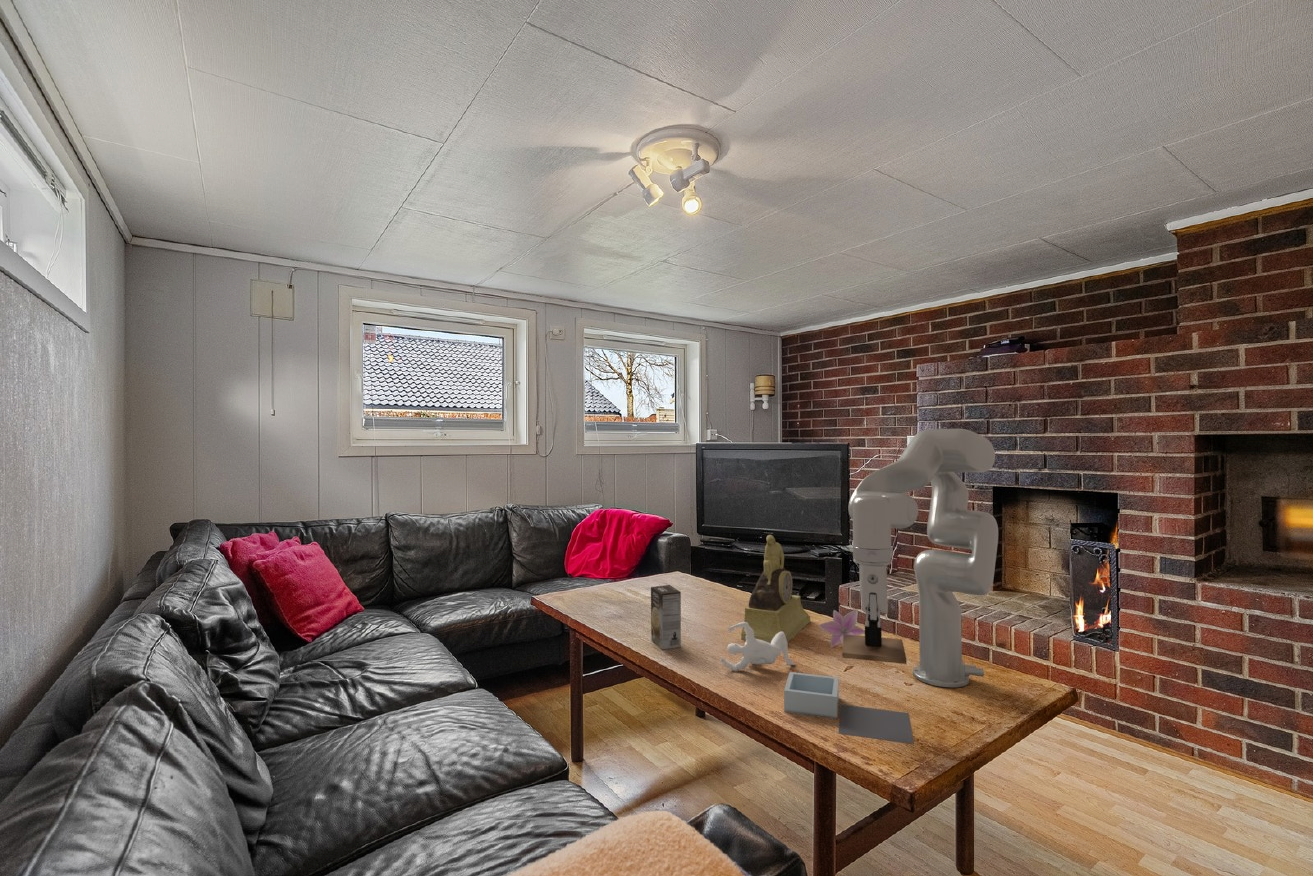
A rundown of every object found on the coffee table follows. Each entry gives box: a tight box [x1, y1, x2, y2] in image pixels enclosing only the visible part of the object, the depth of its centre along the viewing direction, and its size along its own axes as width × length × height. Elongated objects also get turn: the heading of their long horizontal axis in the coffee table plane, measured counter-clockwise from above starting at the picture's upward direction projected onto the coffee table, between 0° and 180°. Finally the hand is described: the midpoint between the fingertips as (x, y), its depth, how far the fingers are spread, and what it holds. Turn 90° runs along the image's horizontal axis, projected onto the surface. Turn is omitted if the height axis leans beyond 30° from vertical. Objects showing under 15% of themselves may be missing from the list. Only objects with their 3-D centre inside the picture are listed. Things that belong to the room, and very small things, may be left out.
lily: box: [818, 609, 865, 648], centre depth 174 cm, size 12×12×10 cm
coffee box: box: [650, 584, 682, 650], centre depth 177 cm, size 9×6×16 cm
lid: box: [841, 620, 907, 665], centre depth 125 cm, size 12×12×6 cm
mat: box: [838, 704, 915, 745], centre depth 125 cm, size 14×14×1 cm
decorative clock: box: [740, 534, 811, 644], centre depth 189 cm, size 28×13×30 cm, turn 150°
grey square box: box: [783, 671, 840, 720], centre depth 134 cm, size 11×11×5 cm
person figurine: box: [719, 621, 797, 672], centre depth 156 cm, size 13×13×18 cm
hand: (873, 642), depth 125 cm, fingers closed on lid, 3 cm apart
